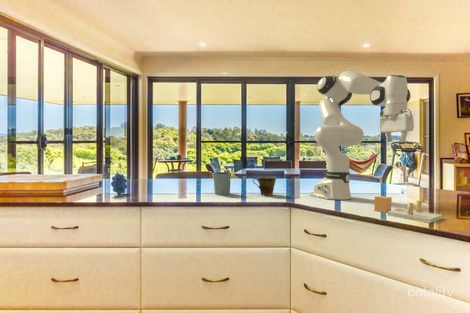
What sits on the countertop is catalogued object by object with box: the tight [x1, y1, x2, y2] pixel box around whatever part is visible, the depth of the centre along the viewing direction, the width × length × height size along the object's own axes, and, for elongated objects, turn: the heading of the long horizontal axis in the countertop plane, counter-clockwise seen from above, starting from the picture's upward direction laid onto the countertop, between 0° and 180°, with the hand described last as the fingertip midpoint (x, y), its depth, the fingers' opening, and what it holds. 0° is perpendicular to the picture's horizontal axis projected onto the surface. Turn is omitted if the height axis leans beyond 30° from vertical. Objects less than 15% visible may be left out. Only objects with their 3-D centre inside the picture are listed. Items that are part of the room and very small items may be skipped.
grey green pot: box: [212, 171, 232, 196], centre depth 180 cm, size 10×10×12 cm
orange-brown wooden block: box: [373, 195, 392, 214], centre depth 139 cm, size 5×5×6 cm
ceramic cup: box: [252, 175, 277, 197], centre depth 178 cm, size 13×10×10 cm
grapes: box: [110, 172, 128, 196], centre depth 174 cm, size 12×7×12 cm, turn 157°
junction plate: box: [387, 200, 443, 224], centre depth 129 cm, size 16×12×6 cm
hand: (395, 142), depth 143 cm, fingers open, 8 cm apart
